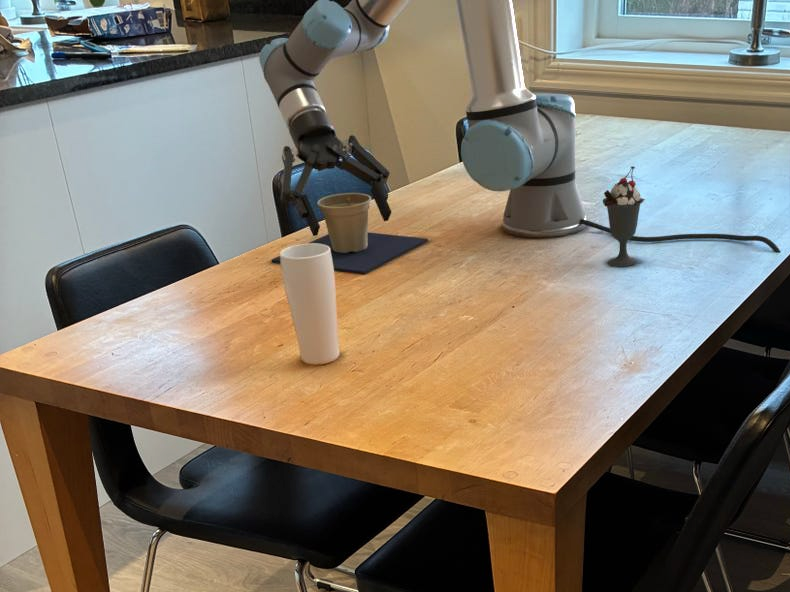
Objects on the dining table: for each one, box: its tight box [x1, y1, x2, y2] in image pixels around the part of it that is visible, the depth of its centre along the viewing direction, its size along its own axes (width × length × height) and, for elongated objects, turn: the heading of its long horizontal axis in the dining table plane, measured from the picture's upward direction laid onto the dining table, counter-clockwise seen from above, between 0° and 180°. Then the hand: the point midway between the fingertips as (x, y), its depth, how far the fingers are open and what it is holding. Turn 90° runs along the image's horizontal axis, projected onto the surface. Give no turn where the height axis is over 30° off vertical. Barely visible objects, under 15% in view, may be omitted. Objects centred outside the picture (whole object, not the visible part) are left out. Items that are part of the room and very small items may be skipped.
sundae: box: [602, 166, 645, 268], centre depth 167 cm, size 7×7×15 cm
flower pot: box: [316, 192, 372, 253], centre depth 183 cm, size 9×9×9 cm
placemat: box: [270, 232, 429, 275], centre depth 185 cm, size 20×20×1 cm
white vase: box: [278, 242, 341, 366], centre depth 138 cm, size 7×7×15 cm
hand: (352, 224), depth 181 cm, fingers open, 13 cm apart
